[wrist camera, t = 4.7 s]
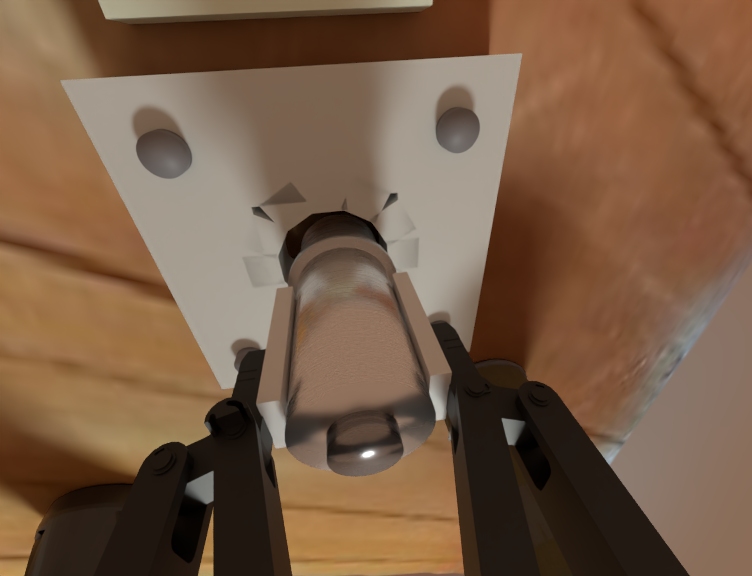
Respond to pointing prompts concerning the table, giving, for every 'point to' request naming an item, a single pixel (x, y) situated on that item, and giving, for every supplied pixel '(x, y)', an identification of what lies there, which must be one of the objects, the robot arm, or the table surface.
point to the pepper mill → (351, 356)
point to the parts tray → (246, 9)
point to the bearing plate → (305, 178)
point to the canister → (544, 543)
